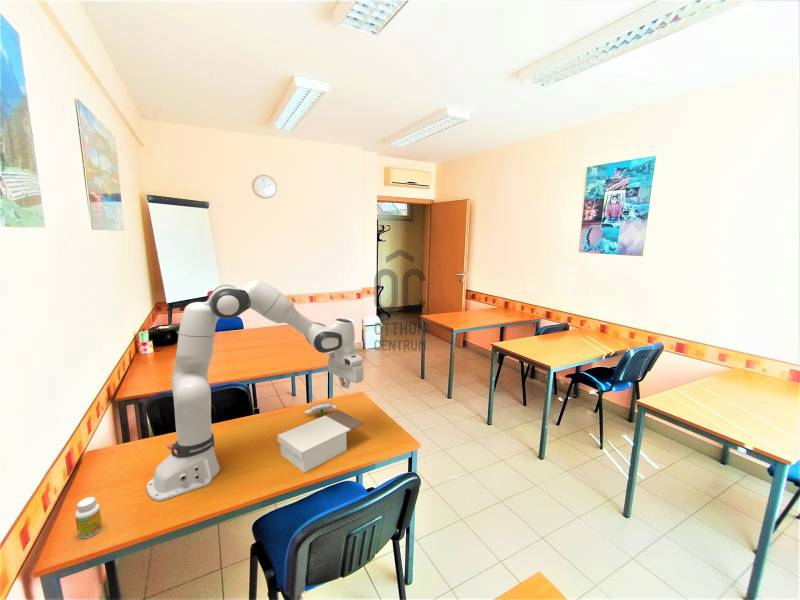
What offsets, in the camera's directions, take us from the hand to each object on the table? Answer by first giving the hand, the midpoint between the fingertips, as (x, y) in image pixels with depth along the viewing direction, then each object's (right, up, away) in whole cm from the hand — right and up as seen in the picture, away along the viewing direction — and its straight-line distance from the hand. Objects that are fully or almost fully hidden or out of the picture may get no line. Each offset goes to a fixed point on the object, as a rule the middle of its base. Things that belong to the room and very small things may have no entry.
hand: (344, 387), depth 154 cm
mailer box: (-11, -25, -9) cm, 28 cm away
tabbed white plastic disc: (-15, -20, +23) cm, 34 cm away
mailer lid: (-8, -18, -6) cm, 21 cm away
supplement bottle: (-67, -31, -49) cm, 89 cm away
